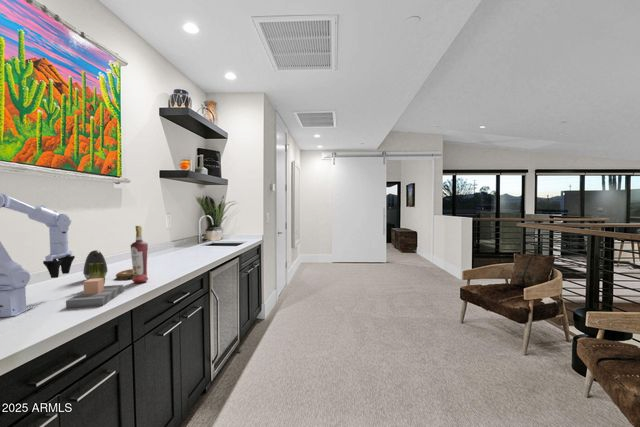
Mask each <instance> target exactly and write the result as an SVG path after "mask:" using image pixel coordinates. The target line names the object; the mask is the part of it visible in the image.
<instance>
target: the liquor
mask: <svg viewBox="0 0 640 427" xmlns="http://www.w3.org/2000/svg"><path fill="white" fill-rule="evenodd" d="M142 229H143V225H135V232H136V233H135V241H134V242H132V243H131V244H130V254H131V255H130V256H131V264H132V269H133V279H132V282H133V283H134V284H143V283H146V282H148V280H149V277H148V257H149V256H148V255H149V253H148V252H149V251H148V248H149V245H148V243H147V242H145V241H143V235H142V234H143V233H142V231H143V230H142Z"/></svg>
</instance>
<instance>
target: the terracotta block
mask: <svg viewBox="0 0 640 427" xmlns="http://www.w3.org/2000/svg"><path fill="white" fill-rule="evenodd" d="M104 286H105V284H104V278H97V279H89V280H88V279H86V280H84V281H83V291H84V294H97V293H100V292H102V291H103V290H104Z"/></svg>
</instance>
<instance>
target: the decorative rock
mask: <svg viewBox="0 0 640 427" xmlns="http://www.w3.org/2000/svg"><path fill="white" fill-rule="evenodd" d="M115 277H116V280H118V279H119V280H120V281H125V280H126V279H127V280H126V281H128V280H129V279H130V280H131V279H132V280H133V268H131V269H130V268H129V269H125V270H122V271H119V272H118V273H116V274H115Z"/></svg>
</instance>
